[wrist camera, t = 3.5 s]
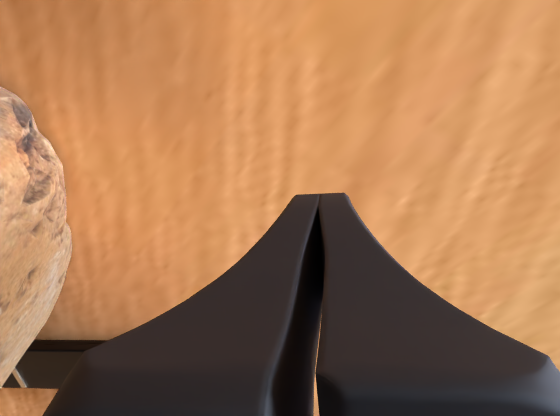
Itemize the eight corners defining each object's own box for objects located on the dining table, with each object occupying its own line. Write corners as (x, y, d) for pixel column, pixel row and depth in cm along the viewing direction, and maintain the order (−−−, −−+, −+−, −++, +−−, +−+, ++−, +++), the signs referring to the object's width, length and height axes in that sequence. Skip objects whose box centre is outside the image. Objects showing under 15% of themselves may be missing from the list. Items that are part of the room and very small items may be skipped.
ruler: (244, 381, 18) (241, 395, 17) (-148, 373, 21) (-161, 385, 20) (235, 340, 17) (232, 353, 16) (-181, 338, 20) (-196, 349, 19)
